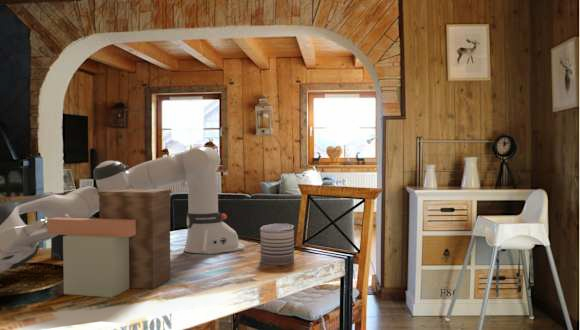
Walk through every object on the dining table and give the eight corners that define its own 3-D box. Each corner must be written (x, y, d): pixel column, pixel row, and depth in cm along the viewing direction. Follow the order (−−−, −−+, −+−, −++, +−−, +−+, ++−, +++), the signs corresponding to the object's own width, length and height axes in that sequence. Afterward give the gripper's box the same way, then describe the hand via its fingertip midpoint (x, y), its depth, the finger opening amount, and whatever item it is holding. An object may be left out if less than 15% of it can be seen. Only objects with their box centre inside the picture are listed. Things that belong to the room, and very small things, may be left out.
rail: (46, 234, 127) (46, 219, 127) (56, 231, 131) (55, 217, 131) (128, 237, 122) (128, 221, 122) (135, 234, 126) (135, 219, 125)
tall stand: (98, 285, 132) (97, 191, 131) (120, 276, 142) (119, 188, 141) (153, 289, 128) (152, 192, 127) (171, 279, 138) (171, 189, 138)
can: (300, 261, 161) (300, 226, 161) (273, 266, 154) (273, 229, 154) (280, 255, 170) (280, 222, 170) (253, 260, 163) (253, 225, 163)
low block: (63, 294, 124) (63, 236, 124) (83, 285, 132) (82, 231, 132) (112, 297, 121) (111, 238, 121) (129, 288, 129) (128, 233, 129)
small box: (61, 260, 164) (60, 229, 164) (50, 258, 167) (49, 228, 167) (88, 254, 173) (88, 225, 173) (77, 252, 176) (77, 224, 176)
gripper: (50, 246, 141) (86, 224, 138) (-7, 261, 121) (33, 236, 118) (41, 227, 142) (76, 204, 139) (-18, 239, 122) (22, 213, 119)
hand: (56, 219), depth 129 cm, fingers open, 8 cm apart
